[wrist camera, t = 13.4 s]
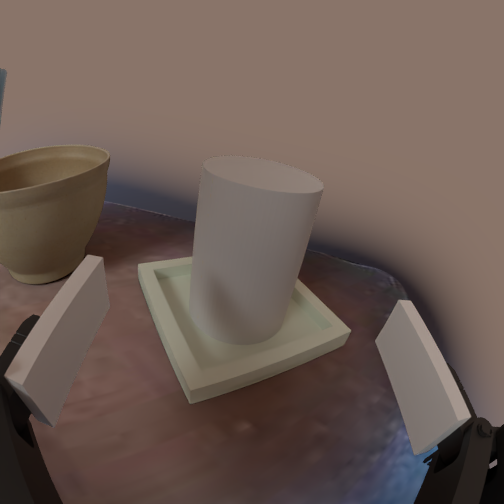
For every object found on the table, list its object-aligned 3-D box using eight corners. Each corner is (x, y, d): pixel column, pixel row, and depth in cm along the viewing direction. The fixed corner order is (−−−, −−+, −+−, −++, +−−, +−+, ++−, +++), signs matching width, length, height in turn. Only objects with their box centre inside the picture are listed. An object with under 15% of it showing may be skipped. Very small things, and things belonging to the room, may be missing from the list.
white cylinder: (259, 277, 30) (285, 160, 24) (300, 333, 23) (348, 196, 18) (179, 285, 26) (190, 153, 20) (205, 353, 20) (225, 190, 14)
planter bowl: (88, 216, 36) (87, 138, 30) (137, 277, 27) (136, 167, 21) (-15, 245, 25) (-29, 162, 19) (-12, 330, 16) (-54, 211, 11)
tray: (138, 279, 27) (137, 264, 26) (261, 260, 34) (264, 246, 33) (190, 404, 17) (190, 390, 16) (343, 345, 24) (351, 330, 23)
